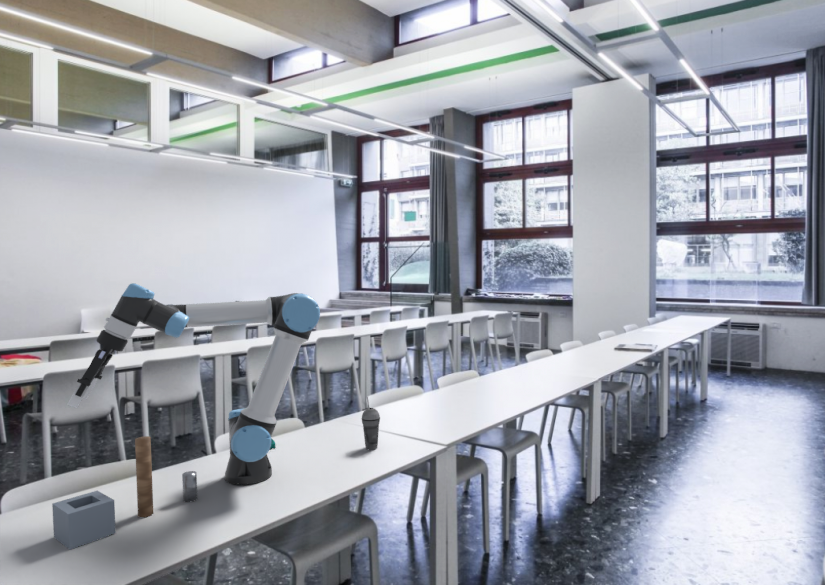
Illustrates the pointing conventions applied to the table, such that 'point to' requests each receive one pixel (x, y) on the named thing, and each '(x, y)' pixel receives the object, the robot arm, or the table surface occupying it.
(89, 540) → the collar block
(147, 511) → the long walnut pin
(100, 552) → the table surface
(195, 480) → the short steel pin
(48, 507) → the table surface
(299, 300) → the robot arm
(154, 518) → the table surface
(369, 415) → the beverage cup
